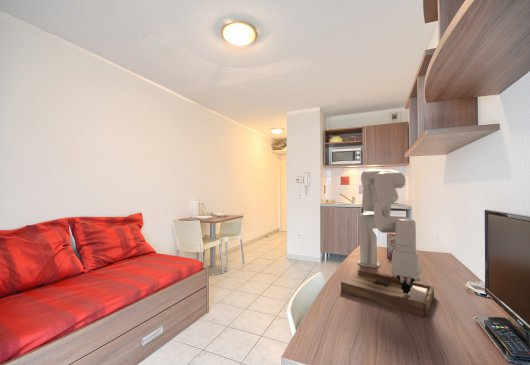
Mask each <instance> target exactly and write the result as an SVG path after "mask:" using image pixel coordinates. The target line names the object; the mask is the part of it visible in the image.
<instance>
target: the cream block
mask: <svg viewBox="0 0 530 365" xmlns="http://www.w3.org/2000/svg"><path fill="white" fill-rule="evenodd" d="M427 294H428V292H427V289H426V288H422V287H418V286H412V288H411V289H410V299H412V300H416V301H419V302H424V300H425V298H426V296H427Z"/></svg>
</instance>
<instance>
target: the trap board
mask: <svg viewBox="0 0 530 365" xmlns="http://www.w3.org/2000/svg"><path fill="white" fill-rule="evenodd" d="M405 281H406V282H407V280H405ZM412 286H418V287H422V288H426V289H427V292H428V294H427V296H426V298H425V300H424V302H419V301H416V300H412V299H410V292H409V293H408V294H406V293H403V290H402V283H401V282H400V280H399V279H398V278H393V277H392V276H387V275H384V274H380V273H374V272H370V271H366V270H361V269H358V270H357V275H356V276H355V277H353V278H352V279H351V280H349V281H348V282H346V281H341V282H340V292H341V293H343V294H346V295H350V296H353V297H357V298H360V299H363V300H366V301H371V302H374V303H376V304H381V305H383V306H387V307H389V308H393V309H397V310H401V311H404V312H407V313H410V314H413V315H416V314H417V316H420V317H423V318H427V317H428V313H429V311H430V308H431V306H432V303H433V300H434V298H435V286H433V285H428V284H423V283H420V282H417V281H414V282H412V283H411V284H410V287H411V288H412Z"/></svg>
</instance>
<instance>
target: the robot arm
mask: <svg viewBox="0 0 530 365" xmlns="http://www.w3.org/2000/svg"><path fill="white" fill-rule="evenodd" d="M360 182H361V185H362V197H361V198H362V199H361V207H362V210H363V211H364V212H361V213H360V214H359V215H358V217H357V221H358V226H359V227H358V228H359V259H358V260H357V264H358V265H359V266H361V267H365V268H379V267H380V266H381V264H380V262H378V240H377V239H378V238H377V237H378V236H377V233H376V232H374V230H373V229H375V230H376V229H377V230H378V231H379V232H381V233H383V234H387V233H395V244H392V247H394V248H395V250H393V254H392V258H391V263H390V264H391V265H390V271H391V276H392V275H393V276H395V277H397V278H398V279H399V280H400V282H401V283H402V290H403V293H406V294H408V293H409V292H410V289H411V287H410V284H411V283H412V282H421V281H422V278H421V263H420V257H419V256H420V255H419V252H417V236H416V235H417V233H416V230H417V227H416V226H417V225H416V221H415V220H414V219H412V218H409V217H407V216H402V215H399V216H397V215H391V211H392V204H394V203H396V202H397V201H398V199H399V194H398V191H397V189H402V188H404V187H405V186H406V177H405V175H404V174H403V173H402V172H400V171H396V170H393V169H368V170H367V169H366V170H364V171H362V172H361V174H360ZM405 277H408V278H407V282H406V281H405Z"/></svg>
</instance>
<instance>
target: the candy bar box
mask: <svg viewBox="0 0 530 365" xmlns="http://www.w3.org/2000/svg"><path fill="white" fill-rule="evenodd" d="M392 244H395V233H386V257H387V258H390V259H392V254H393V250H395V248H394V247H392Z"/></svg>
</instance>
